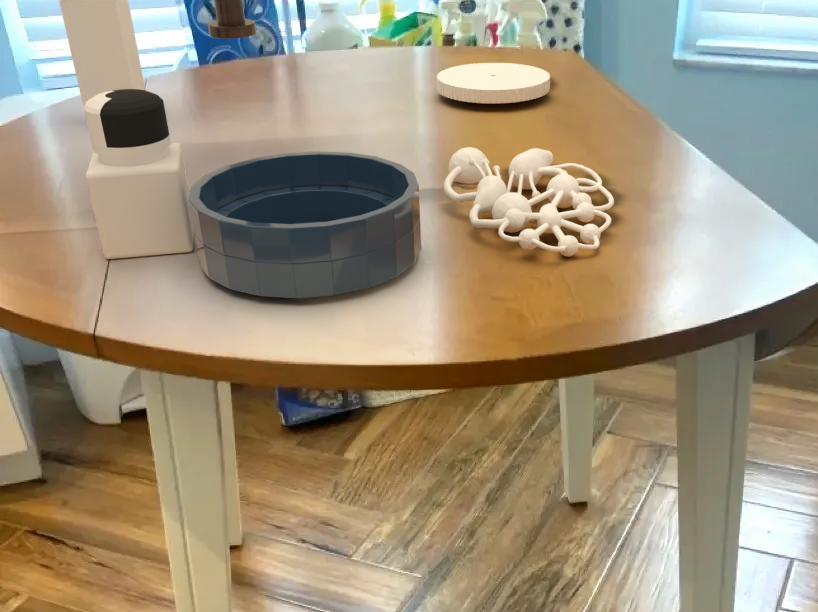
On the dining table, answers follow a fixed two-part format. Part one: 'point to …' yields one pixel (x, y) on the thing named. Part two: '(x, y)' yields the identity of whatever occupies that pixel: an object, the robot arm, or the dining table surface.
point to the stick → (231, 21)
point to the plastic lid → (493, 83)
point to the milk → (102, 46)
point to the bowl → (306, 223)
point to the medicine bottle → (136, 177)
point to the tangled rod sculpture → (516, 209)
